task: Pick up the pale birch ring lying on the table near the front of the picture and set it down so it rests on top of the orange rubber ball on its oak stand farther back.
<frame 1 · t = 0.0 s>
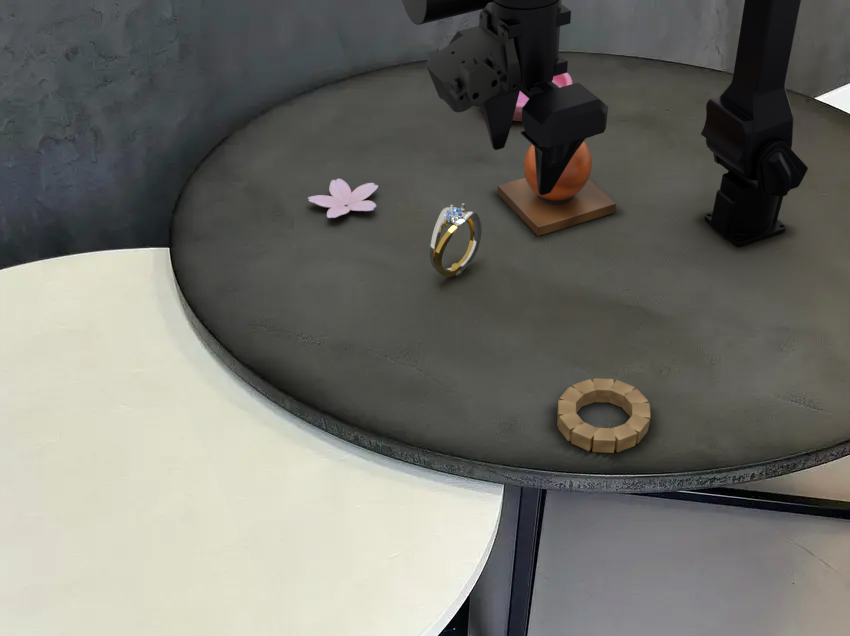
hand: (520, 170, 92), 15 cm above the table, tool pointing down, fingers open, 9 cm apart
ring 2: (456, 274, 107), on the table
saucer: (523, 105, 131), on the table
ring: (602, 421, 91), on the table
ball stand: (555, 203, 115), on the table
flower: (346, 209, 117), on the table
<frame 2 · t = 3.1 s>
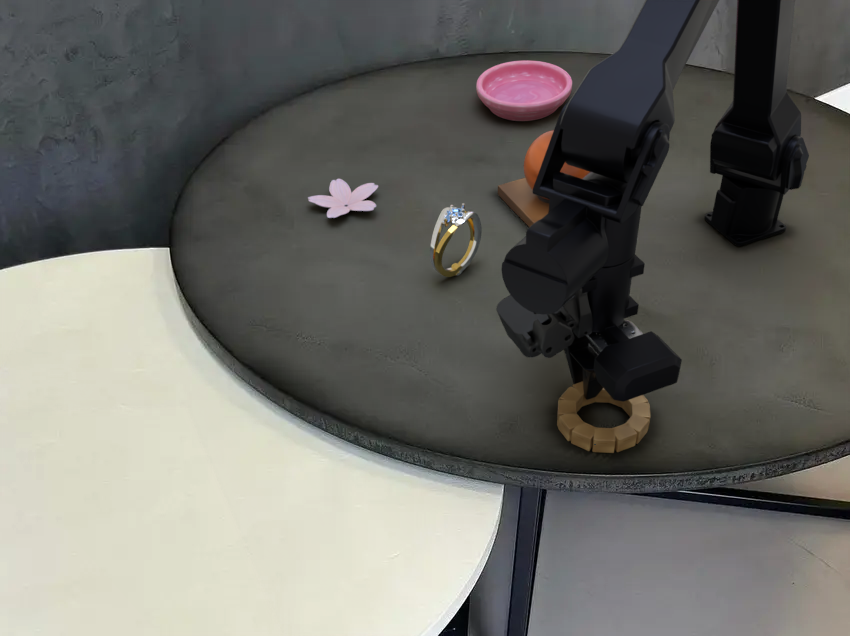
hand: (584, 391, 92), 1 cm above the table, tool pointing down, fingers closed on ring, 2 cm apart
ring: (602, 421, 91), on the table, touching gripper
everything else where it was.
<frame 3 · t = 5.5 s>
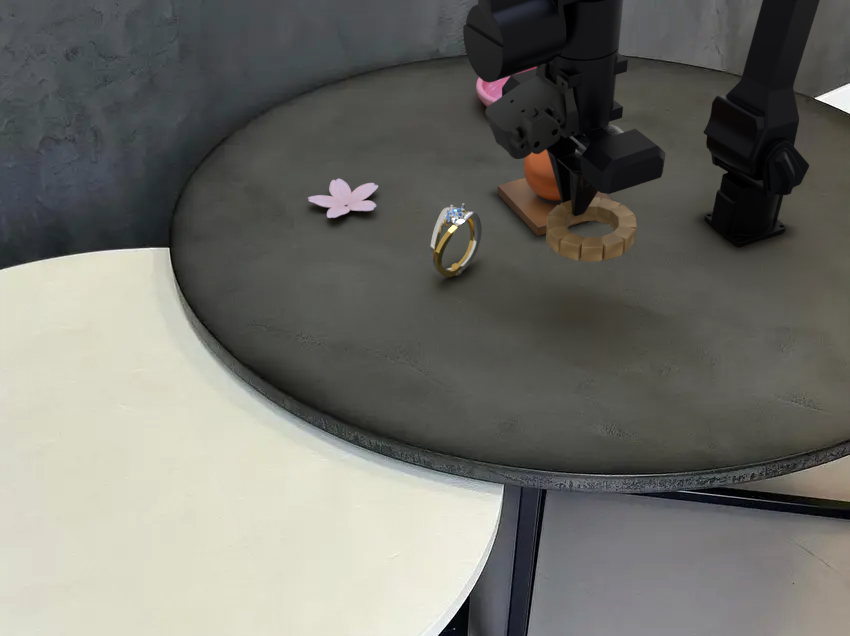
hand: (573, 209, 94), 11 cm above the table, tool pointing down, fingers closed on ring, 2 cm apart
ring: (590, 236, 93), point 10 cm above the table, touching gripper
everything else where it was.
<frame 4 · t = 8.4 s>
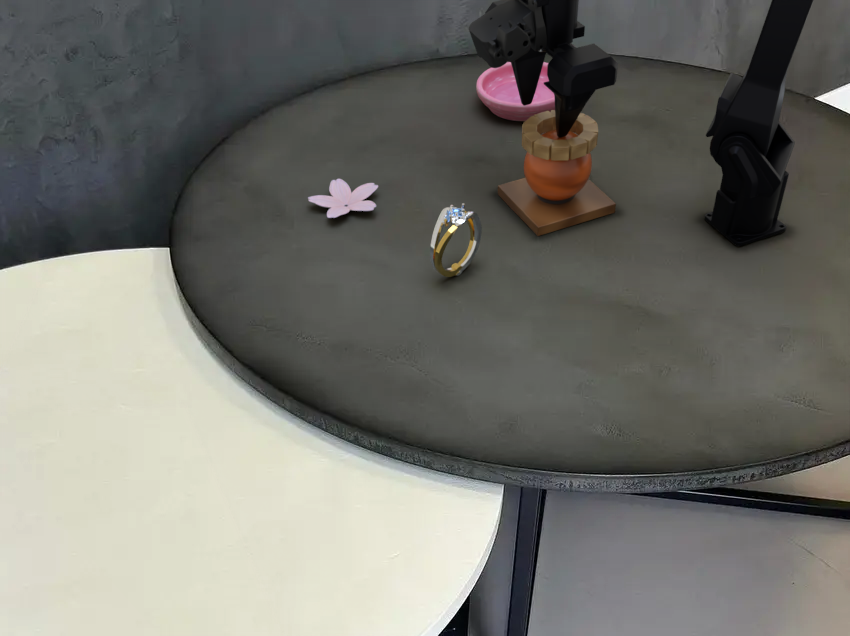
hand: (543, 119, 111), 9 cm above the table, tool pointing down, fingers open, 8 cm apart
ring: (559, 141, 109), point 8 cm above the table, touching ball stand
everything else where it was.
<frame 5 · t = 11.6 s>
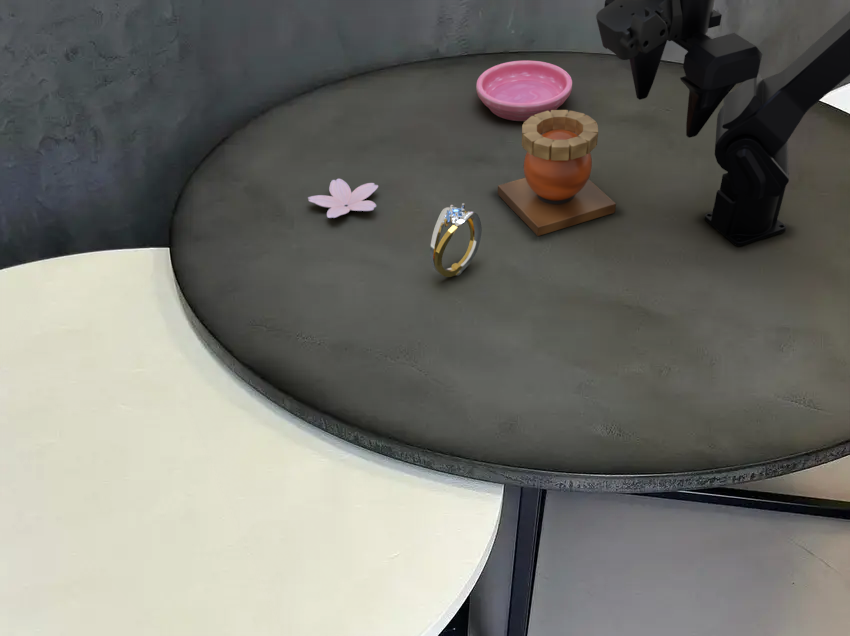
hand: (666, 116, 103), 12 cm above the table, tool pointing down, fingers open, 9 cm apart
nothing on the table moved.
at the end: ring 0.0 cm off-centre on the ball stand, point 7.7 cm above the ball stand's base; ring touching ball stand; the gripper is holding nothing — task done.
